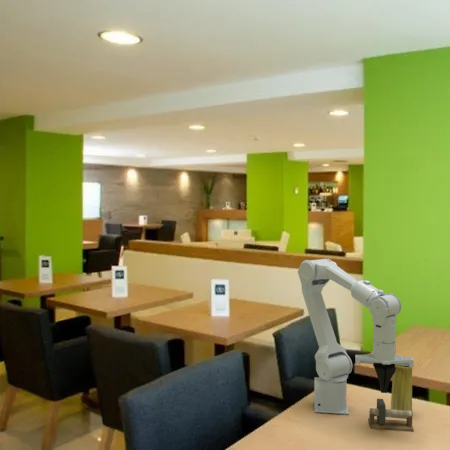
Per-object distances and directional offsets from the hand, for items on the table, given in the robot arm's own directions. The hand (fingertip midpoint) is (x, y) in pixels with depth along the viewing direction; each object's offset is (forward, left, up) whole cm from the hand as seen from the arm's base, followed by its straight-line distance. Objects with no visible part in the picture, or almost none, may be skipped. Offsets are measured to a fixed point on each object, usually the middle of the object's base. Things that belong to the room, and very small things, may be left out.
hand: (383, 391), depth 131 cm
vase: (+7, +12, -11) cm, 18 cm away
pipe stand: (+3, +3, -10) cm, 11 cm away
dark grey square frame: (0, +3, -9) cm, 10 cm away
